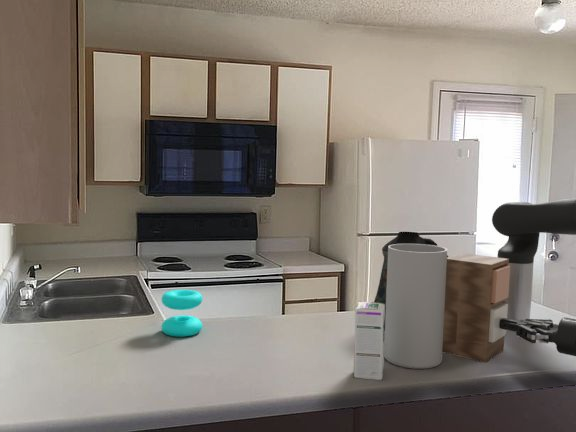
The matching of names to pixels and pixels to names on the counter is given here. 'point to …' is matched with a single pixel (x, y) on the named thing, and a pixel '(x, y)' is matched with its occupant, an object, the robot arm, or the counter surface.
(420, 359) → the cylinder vase
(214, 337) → the counter surface
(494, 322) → the light grey drawer
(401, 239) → the beer stein
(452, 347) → the wooden drawer cabinet
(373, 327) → the syrup box
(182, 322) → the donuts
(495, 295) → the salmon pink block
